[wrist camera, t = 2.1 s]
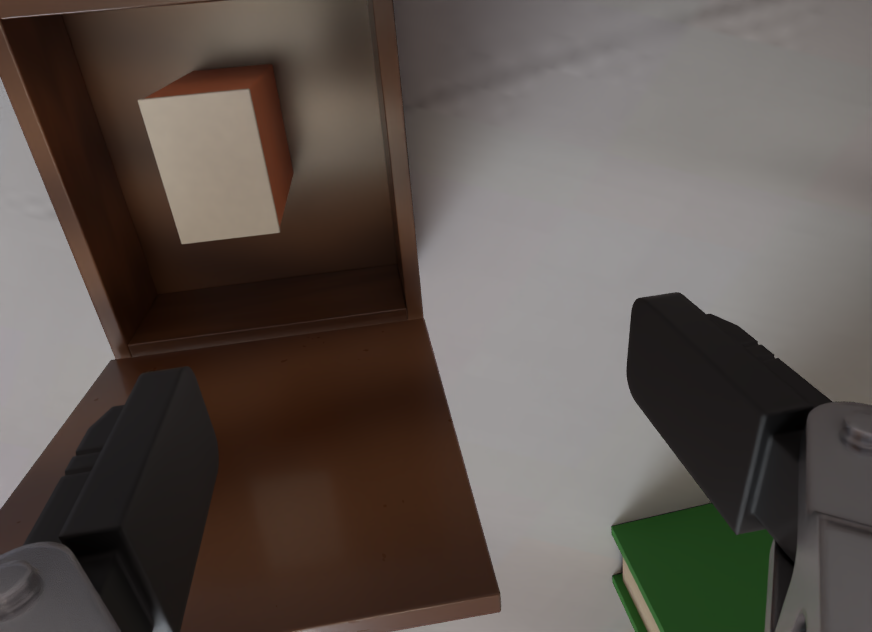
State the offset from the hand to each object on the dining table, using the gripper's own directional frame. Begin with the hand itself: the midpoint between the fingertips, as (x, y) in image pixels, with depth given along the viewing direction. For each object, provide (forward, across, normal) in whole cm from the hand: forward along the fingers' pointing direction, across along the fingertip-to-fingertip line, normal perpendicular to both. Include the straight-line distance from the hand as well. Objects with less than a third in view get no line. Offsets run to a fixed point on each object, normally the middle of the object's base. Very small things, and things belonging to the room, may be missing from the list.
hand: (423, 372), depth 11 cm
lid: (+9, +6, +8) cm, 13 cm away
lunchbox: (+23, +6, +1) cm, 24 cm away
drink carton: (+23, +6, -1) cm, 23 cm away
